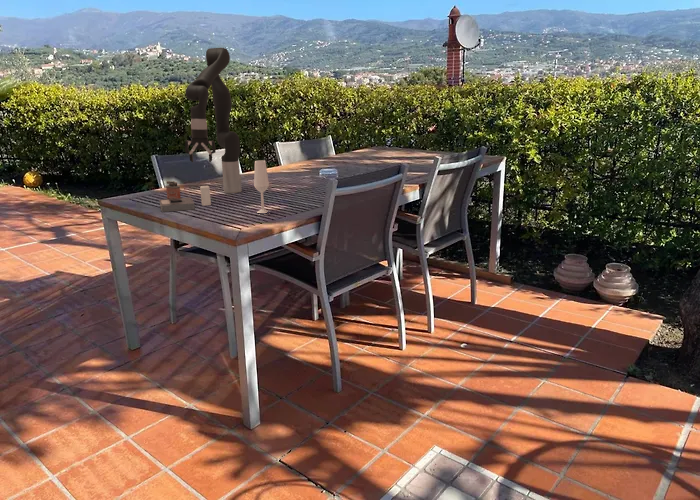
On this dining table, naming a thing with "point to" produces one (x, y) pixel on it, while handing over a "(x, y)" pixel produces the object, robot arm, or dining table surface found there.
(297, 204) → the dining table surface
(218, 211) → the dining table surface
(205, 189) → the peg
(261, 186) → the champagne flute
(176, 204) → the slot holder
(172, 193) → the lighter
